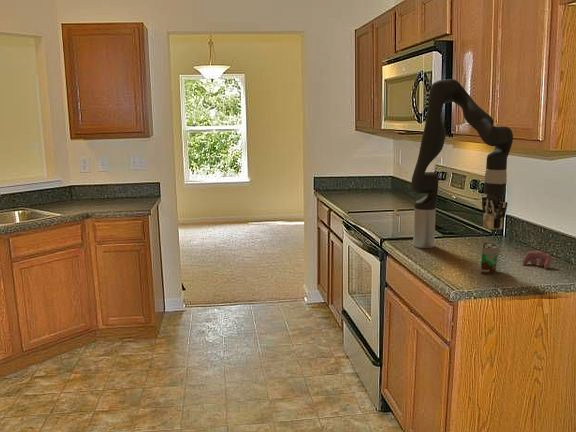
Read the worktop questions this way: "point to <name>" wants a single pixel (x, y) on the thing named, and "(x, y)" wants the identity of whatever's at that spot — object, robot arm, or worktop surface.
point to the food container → (489, 257)
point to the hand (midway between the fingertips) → (492, 226)
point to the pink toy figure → (533, 255)
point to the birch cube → (490, 221)
